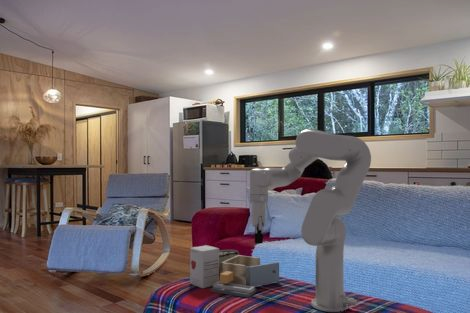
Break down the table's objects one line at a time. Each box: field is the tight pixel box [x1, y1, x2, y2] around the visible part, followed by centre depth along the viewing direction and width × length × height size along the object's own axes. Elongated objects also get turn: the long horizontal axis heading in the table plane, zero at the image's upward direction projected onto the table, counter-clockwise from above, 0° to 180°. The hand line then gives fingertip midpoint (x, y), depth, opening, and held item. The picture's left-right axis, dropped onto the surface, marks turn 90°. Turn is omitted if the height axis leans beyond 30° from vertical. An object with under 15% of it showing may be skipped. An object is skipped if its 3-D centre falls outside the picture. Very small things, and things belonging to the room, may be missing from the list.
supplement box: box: [189, 244, 220, 289], centre depth 162 cm, size 9×9×15 cm
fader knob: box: [219, 271, 233, 285], centre depth 154 cm, size 3×5×5 cm, turn 153°
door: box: [246, 261, 280, 288], centre depth 160 cm, size 2×17×8 cm, turn 123°
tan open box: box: [220, 254, 261, 285], centre depth 166 cm, size 11×16×9 cm
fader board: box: [210, 280, 258, 299], centre depth 152 cm, size 16×8×2 cm, turn 63°
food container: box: [219, 249, 240, 277], centre depth 179 cm, size 12×6×10 cm, turn 130°
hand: (258, 242), depth 161 cm, fingers closed
